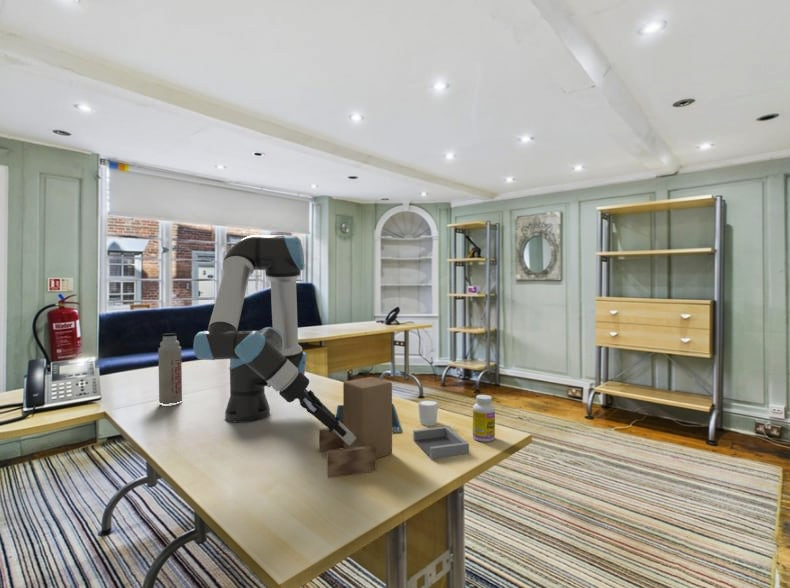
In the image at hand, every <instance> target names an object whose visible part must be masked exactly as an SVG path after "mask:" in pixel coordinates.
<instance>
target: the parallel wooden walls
mask: <svg viewBox="0 0 790 588" xmlns="http://www.w3.org/2000/svg"><path fill="white" fill-rule="evenodd" d="M318 450H319V452H323V451H325V450H326V451H325V452H326V476H327V478H334V477H342V476H349V475H356V474H362V473H370V472H376V459H375V446H374V445H371V446H363V447H355V448H347V449H344V440H342V439H341V438H340V437H339V436H338V435H337V434H336V433H335V432H334V431H332V432H329V428H328V427H320V428H318Z"/></svg>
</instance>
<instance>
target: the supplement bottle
mask: <svg viewBox="0 0 790 588" xmlns="http://www.w3.org/2000/svg"><path fill="white" fill-rule="evenodd" d="M475 401H476V403H475V404H474V405H472V438H473V439H474V440H475V441H478V442H483V443H489V442H492V441H494V440H495V438H496V437H495V436H496V428H495V427H496V408H495V406H494V405H493V404H492V403H493V402H492V401H493V397H492V396H491V395H488V394H478V395H476V397H475Z"/></svg>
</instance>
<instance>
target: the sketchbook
mask: <svg viewBox="0 0 790 588" xmlns="http://www.w3.org/2000/svg"><path fill="white" fill-rule="evenodd" d="M335 414H336V415H335V417H337V416H339V417H340V418H339V420H338V421H340V422H341V423H342V424H343V425H344V404H338V405H337V408H336V413H335ZM401 432H402V427H401V424H400V421H399V417H398V414H397V412H396V408H395V405H394V403H392V433H394V434H399V433H401Z"/></svg>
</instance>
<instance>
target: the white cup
mask: <svg viewBox="0 0 790 588" xmlns="http://www.w3.org/2000/svg"><path fill="white" fill-rule="evenodd" d="M417 405H418V415H419V424H420V423H421V424H422V425H421V424H420V425H421V426H424V425H426V427H433V426H436V425H437V420H438V410H439V402H438V401H436V400H430V399H429V400H428V399H427V400H425V399H423V400H420V401H418V402H417Z"/></svg>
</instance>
